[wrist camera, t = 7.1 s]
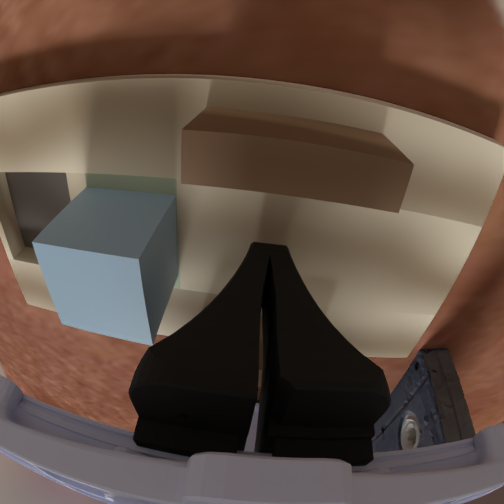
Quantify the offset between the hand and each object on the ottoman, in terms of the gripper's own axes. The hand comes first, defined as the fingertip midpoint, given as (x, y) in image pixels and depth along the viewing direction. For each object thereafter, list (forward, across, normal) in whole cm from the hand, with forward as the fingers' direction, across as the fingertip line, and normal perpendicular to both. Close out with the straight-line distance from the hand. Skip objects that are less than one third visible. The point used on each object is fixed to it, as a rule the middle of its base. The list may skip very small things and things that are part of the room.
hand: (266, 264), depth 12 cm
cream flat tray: (+2, +3, 0) cm, 4 cm away
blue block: (+1, +6, 0) cm, 6 cm away
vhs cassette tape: (+3, -13, +17) cm, 21 cm away
